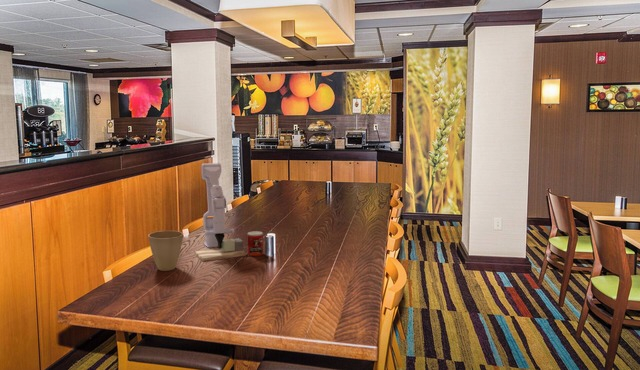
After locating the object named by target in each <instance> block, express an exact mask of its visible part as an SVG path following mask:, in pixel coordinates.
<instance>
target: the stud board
mask: <svg viewBox="0 0 640 370" xmlns="http://www.w3.org/2000/svg"><path fill="white" fill-rule="evenodd" d="M232 239H233V240H234V241H235V251H227V252H223V251H222V250H220V249H219V248H218V247H216V248H209V249H201V250H195V251H194V255H195V256H196V257H197V258H198V259H199V260H200V261H201V262H205V261H207V262H208V261H212V260H222V259H231V258H237V257H246V256H247V252H246V251H244V241H243V240H242V239H241V238H232Z"/></svg>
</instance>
